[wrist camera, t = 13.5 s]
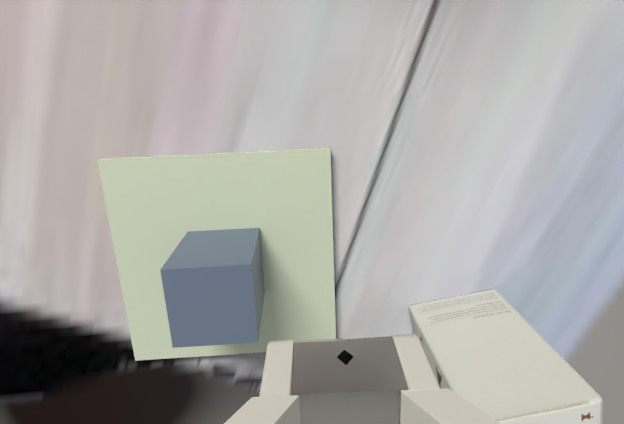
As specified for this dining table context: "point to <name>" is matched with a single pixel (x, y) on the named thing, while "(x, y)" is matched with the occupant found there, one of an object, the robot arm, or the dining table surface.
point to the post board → (220, 216)
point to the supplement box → (501, 362)
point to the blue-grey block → (215, 288)
